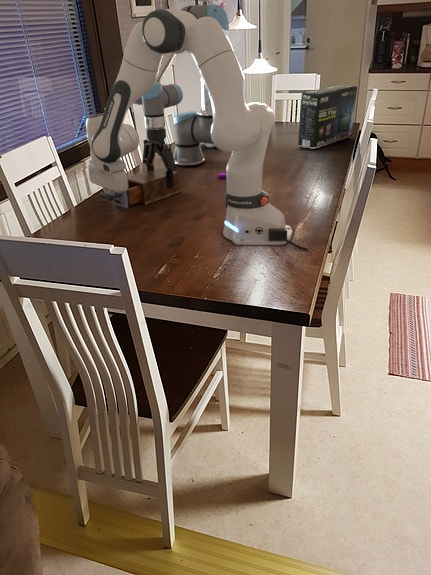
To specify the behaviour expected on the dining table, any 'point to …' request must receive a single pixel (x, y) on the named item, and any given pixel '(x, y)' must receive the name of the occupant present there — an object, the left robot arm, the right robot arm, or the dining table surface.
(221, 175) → the handgun
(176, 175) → the cabinet
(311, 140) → the router box
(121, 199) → the drawer
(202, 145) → the fossil
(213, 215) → the dining table surface
